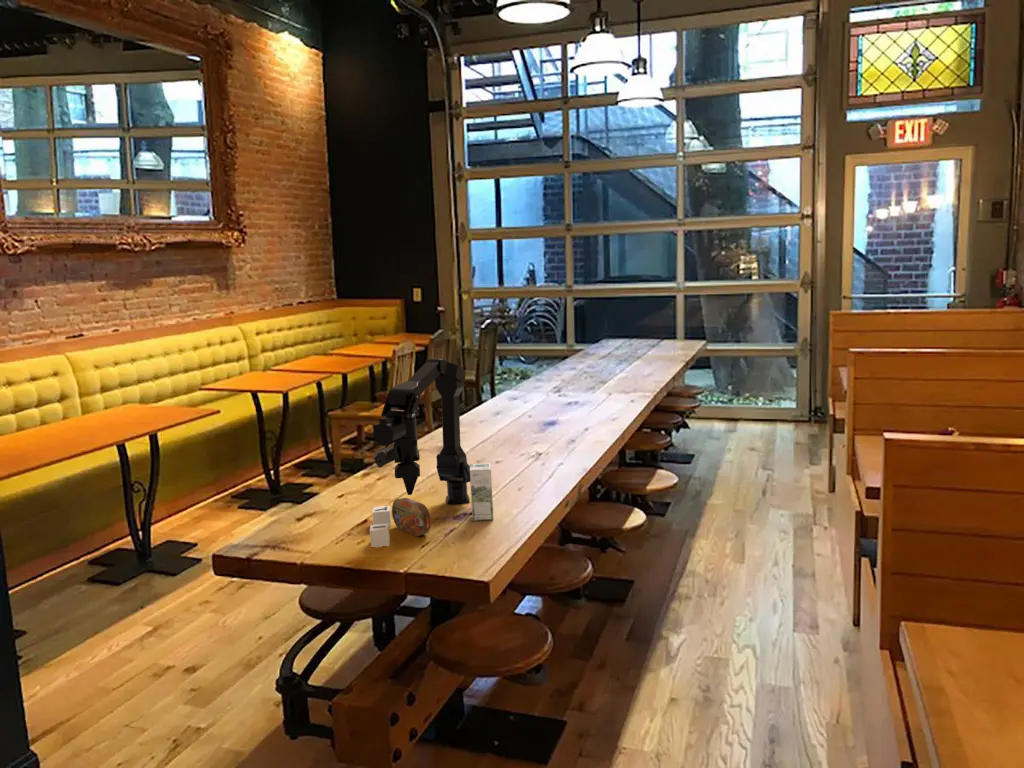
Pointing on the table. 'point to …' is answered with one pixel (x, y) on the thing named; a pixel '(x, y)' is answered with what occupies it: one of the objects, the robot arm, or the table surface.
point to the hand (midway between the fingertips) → (409, 494)
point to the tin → (411, 516)
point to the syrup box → (481, 492)
